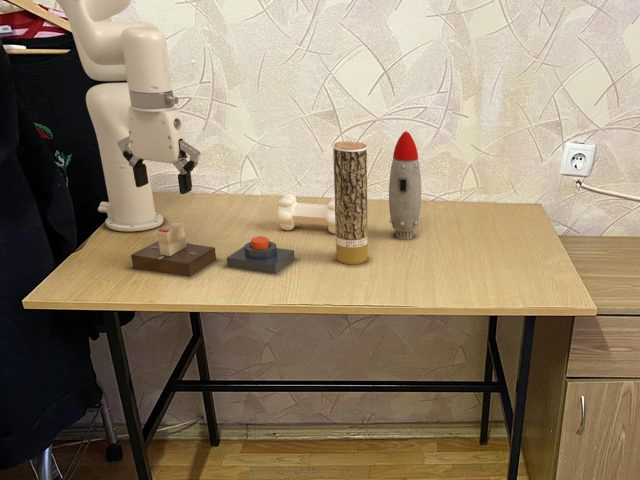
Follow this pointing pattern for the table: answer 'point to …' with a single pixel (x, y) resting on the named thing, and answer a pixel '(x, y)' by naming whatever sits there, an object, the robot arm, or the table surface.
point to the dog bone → (305, 213)
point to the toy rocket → (405, 187)
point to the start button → (260, 243)
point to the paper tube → (350, 201)
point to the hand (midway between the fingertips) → (164, 188)
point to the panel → (174, 259)
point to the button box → (261, 258)
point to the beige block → (171, 239)
